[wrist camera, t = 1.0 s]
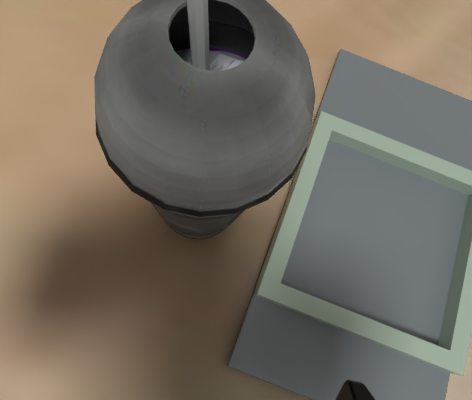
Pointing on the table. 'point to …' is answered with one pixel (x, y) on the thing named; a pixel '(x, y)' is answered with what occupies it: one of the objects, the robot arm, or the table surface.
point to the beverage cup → (203, 107)
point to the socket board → (370, 246)
